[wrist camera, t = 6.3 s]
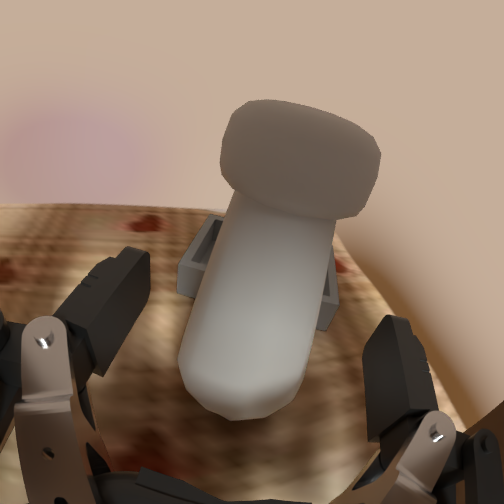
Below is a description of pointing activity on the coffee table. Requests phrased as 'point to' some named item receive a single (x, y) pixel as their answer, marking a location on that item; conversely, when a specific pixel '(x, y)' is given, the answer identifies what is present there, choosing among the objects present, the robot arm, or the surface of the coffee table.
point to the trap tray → (199, 256)
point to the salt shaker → (272, 253)
